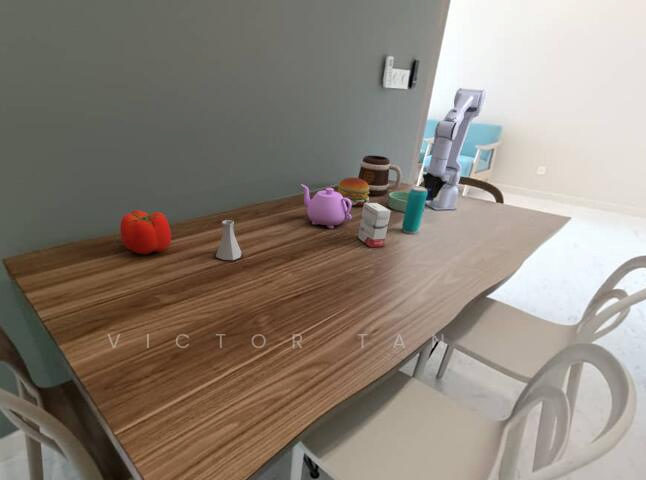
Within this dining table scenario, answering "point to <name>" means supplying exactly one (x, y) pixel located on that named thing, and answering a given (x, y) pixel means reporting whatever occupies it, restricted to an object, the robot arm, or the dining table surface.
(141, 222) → the red bell pepper
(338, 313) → the dining table surface
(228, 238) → the flask
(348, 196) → the burger
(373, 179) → the mug
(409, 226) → the beverage can
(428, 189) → the eraser
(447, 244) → the dining table surface
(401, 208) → the bowl
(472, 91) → the robot arm
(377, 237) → the ink box
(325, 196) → the teapot
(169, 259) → the dining table surface
